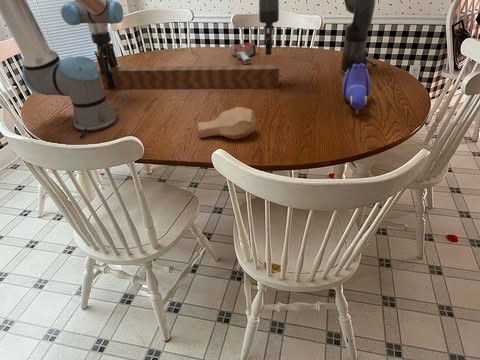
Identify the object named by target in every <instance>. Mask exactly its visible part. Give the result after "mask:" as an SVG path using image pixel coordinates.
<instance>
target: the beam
mask: <svg viewBox="0 0 480 360" xmlns="http://www.w3.org/2000/svg"><path fill="white" fill-rule="evenodd" d="M98 71H99V74H100V78H101V82H102V85H103V89H104V90H110V89H109V88H108V84H107V81H106V77H105V75H102V74H101V71H100V70H98ZM109 71H110V74H111V75H112V79H113V82H114V86H115V88H113V89H112V90H142V89H143V90H147V89H148V90H151V89H152V90H153V89H154V90H156V89H157V90H158V89H161V90H162V89H165V90H166V89H167V90H169V89H171V90H172V89H279V88H280V64H244V65H243V64H241V65H239V64H238V65H237V64H236V65H175V66H173V65H172V66H170V65H168V66H167V65H166V66H116V67H110V66H109Z"/></svg>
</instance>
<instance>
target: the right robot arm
mask: <svg viewBox="0 0 480 360" xmlns="http://www.w3.org/2000/svg"><path fill="white" fill-rule="evenodd" d="M344 6H345V8H346V10H347V12H348V13H350V14H352V15H353V19H352V22H349V23H347V24H346V26H345V31H344V33H345V34H344V41H343V49H342V59H341V66H340V72H341V73H342V74H344V75H345V73H346V71H347V70H348V69H349V72H350V70H351V69H352V65H354V64H357V65H359V64H361V63H362V64H365V67H367V66H368V63H369V64H370V65H371V66H372V67H375V66H377V65H378V63H373V62H372V61H371V60H368V58H367V53H368V50H367V49H366V47H367V42H368V34H369V28H370V27H371V25H372V21H373V17H374V12H375V6H376V0H344ZM279 16H280V0H258V20H259V23H261V24H265V25H264V26H263V39H264V46H265V55H266V56H271V55H272V49H273V39H274V33H275V25H274V23H275V24H276V23H278V22H279V18H280V17H279ZM365 67H363V68H364V69H365ZM349 72H348V74H349Z"/></svg>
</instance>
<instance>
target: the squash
mask: <svg viewBox="0 0 480 360" xmlns="http://www.w3.org/2000/svg"><path fill="white" fill-rule="evenodd" d="M256 124H257V117H256V116H255V114H254V112H253V110H252V108H246V107H243V106H236V107H234V108H231V109H227V110H224V111H222V112H221V113H220V114H219V115H218V117H217V118H215V119H213V120H209V121H208V120H207V121H200V122H198V123H197V135H198V137H200V138H206V137H207V138H208V137H212V136H213V137H214V136H223V137H226V138H228V139H231V140H239V139H245V138H247V137H248V136H250V135H251V134H253V133H255V128H256Z"/></svg>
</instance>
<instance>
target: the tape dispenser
mask: <svg viewBox="0 0 480 360" xmlns="http://www.w3.org/2000/svg"><path fill="white" fill-rule="evenodd" d="M230 53H231V54H232V55H233V57H234V56H235V57H236V58H237V60H242V62H243V64H244V65H249V64H250V63H251V62H252V59H251V56H253V55H256V43H255V42H254V41H252V42H243V43H239V44H238V43H237V44H231V45H230Z"/></svg>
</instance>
